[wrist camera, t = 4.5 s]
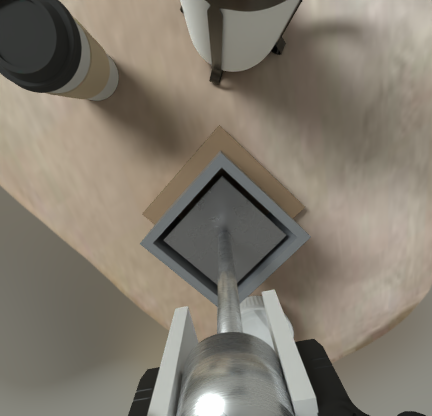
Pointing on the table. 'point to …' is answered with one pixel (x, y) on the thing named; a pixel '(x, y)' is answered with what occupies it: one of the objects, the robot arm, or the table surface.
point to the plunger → (229, 310)
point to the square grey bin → (245, 183)
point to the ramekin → (257, 319)
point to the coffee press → (237, 31)
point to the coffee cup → (52, 52)
